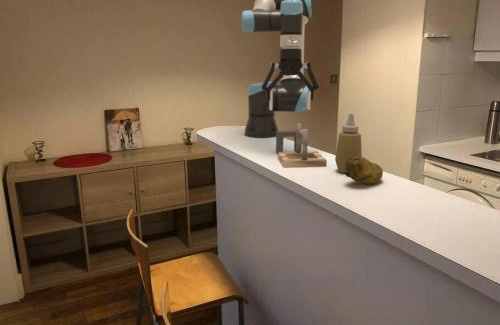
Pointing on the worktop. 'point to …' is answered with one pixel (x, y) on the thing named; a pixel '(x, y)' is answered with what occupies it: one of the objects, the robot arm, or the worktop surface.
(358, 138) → the squeeze bottle
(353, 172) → the potato
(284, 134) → the grey notched block
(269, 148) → the worktop surface
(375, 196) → the worktop surface
